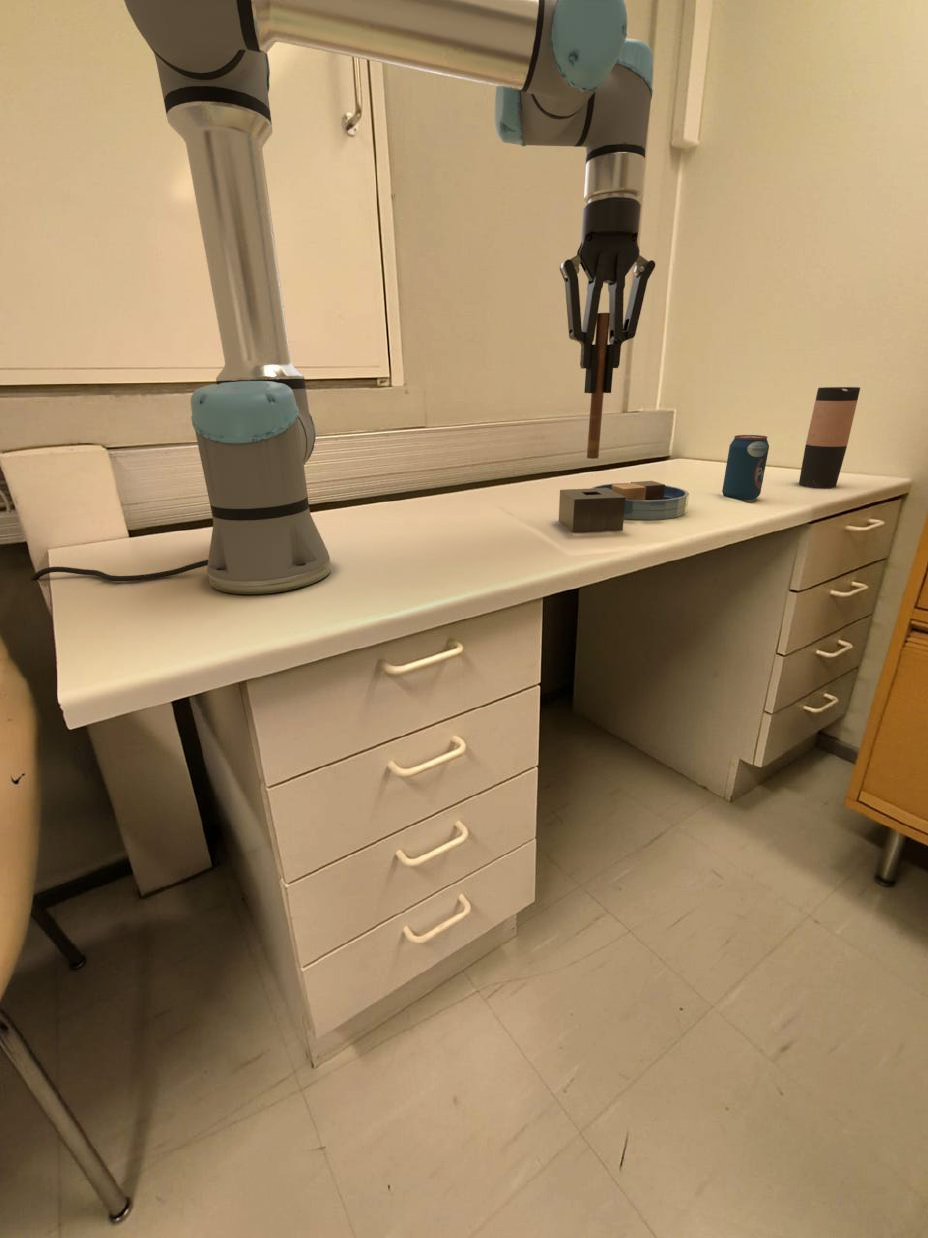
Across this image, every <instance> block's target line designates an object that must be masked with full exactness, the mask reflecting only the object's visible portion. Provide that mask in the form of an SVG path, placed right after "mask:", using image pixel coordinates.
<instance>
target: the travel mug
mask: <svg viewBox="0 0 928 1238" xmlns="http://www.w3.org/2000/svg"><path fill="white" fill-rule="evenodd" d="M860 391H861V387H860V386H830V387H829V386H825V387H822V386H821V387H818V388H817V392H816V396H815V400H814V405H813V409H812V414H811V418H810V423H809V428H808V432H807V437H806V440H805V446H804V452H803V457H802V463H801V468H800V475H799V480H798V485H799V486H801V487H805V488H813V489H833V488H836V487H837V484H838V480H839V477H840V473H841V470H842V466H843V463H844V459H845V455H846V451H847V448H848V445H849V440H850V436H851V431H852V427H853V422H854V419H855V414H856V409H857V404H858V400H859V396H860V393H861V392H860Z"/></svg>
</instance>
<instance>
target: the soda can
mask: <svg viewBox="0 0 928 1238" xmlns="http://www.w3.org/2000/svg"><path fill="white" fill-rule="evenodd" d="M769 449H770V444H769V442H768V436H767V435H760V434H738V435H734V436H733V439H732V440H731V442H730V444H729V448H728V454H727V459H726V460H727V461H726V465H725V471H724V477H723V484H722V490H721V493H722V494H723V495H722V496H723V497H724V498H728V499H733V500H736V501H739V502H743V503H749V502H755V501H756V500H757V499H758V497H759V496H760V495H761V492H762V488H763V487H762V486H763V482H764V477H765V471H766V465H767V461H768V455H769Z"/></svg>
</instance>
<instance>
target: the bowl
mask: <svg viewBox="0 0 928 1238" xmlns="http://www.w3.org/2000/svg"><path fill="white" fill-rule="evenodd" d="M629 483H630V482H618V483H617V482H615V483H606V484H599V485H595V486H592V487H590V488H589V489H592V488H609V489H612V485H614V484H629ZM689 498H690V493H689V491H688V490H686V489H684V488H680V487H677V486H671V485H666V484H665V491H664V500H650V501H648V500H626V501H625V512H624V520H629V521H630V520H632V521H658V520H668V519H675V518H679V517H682V516H685V514H686V513H687V512H688V505H689Z"/></svg>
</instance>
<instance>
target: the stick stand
mask: <svg viewBox="0 0 928 1238" xmlns="http://www.w3.org/2000/svg"><path fill="white" fill-rule="evenodd" d="M591 488H592V487H591ZM625 501H626V497H624V496H622V495H620V494H618V493H616V492H615V491H613V490H611V489H609V488H592V489H590V488H569V489H560V490H559V503H558V522H559V523H560V524H561V525H563V526H564V527H565V528H566V529H567V530H569V531H570V532H571V533H572V534H581V533H599V532H602V533H603V532H618V531H619V532H620V531H621V532H622V531H623V530H624V522H625V519H624V512H625Z"/></svg>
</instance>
